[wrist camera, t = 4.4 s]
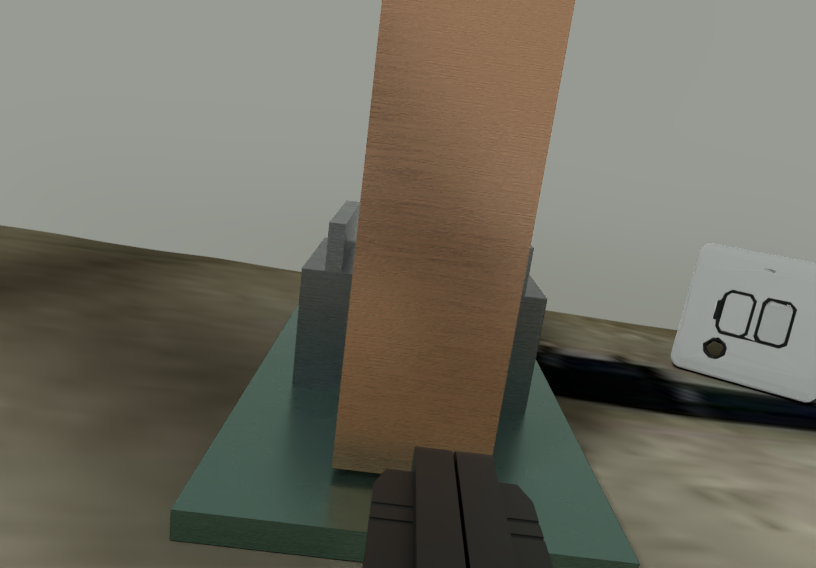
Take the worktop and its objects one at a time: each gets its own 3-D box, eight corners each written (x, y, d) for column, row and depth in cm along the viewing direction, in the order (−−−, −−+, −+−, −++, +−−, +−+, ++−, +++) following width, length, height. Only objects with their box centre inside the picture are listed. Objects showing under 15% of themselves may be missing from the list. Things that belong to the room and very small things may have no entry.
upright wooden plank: (331, 467, 24) (387, -48, 19) (357, 356, 35) (396, 13, 30) (487, 486, 24) (579, -21, 19) (463, 369, 35) (518, 30, 30)
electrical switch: (665, 367, 45) (698, 240, 43) (674, 355, 49) (705, 240, 48) (815, 410, 41) (859, 272, 39) (810, 393, 45) (849, 268, 43)
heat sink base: (169, 539, 21) (182, 156, 18) (306, 303, 48) (321, 134, 45) (631, 593, 22) (727, 227, 18) (510, 329, 49) (540, 162, 45)
